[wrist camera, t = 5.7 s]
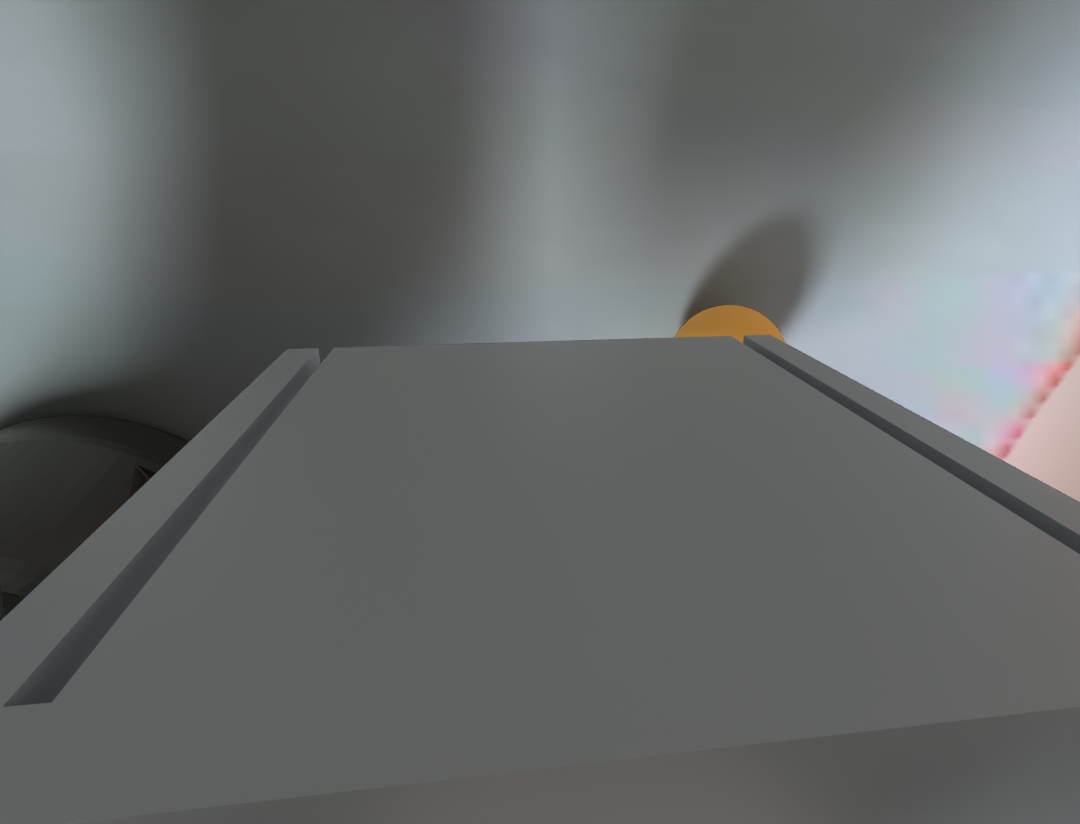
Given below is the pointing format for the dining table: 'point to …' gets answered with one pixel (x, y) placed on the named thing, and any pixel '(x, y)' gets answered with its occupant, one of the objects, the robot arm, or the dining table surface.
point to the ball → (728, 323)
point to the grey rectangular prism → (557, 606)
